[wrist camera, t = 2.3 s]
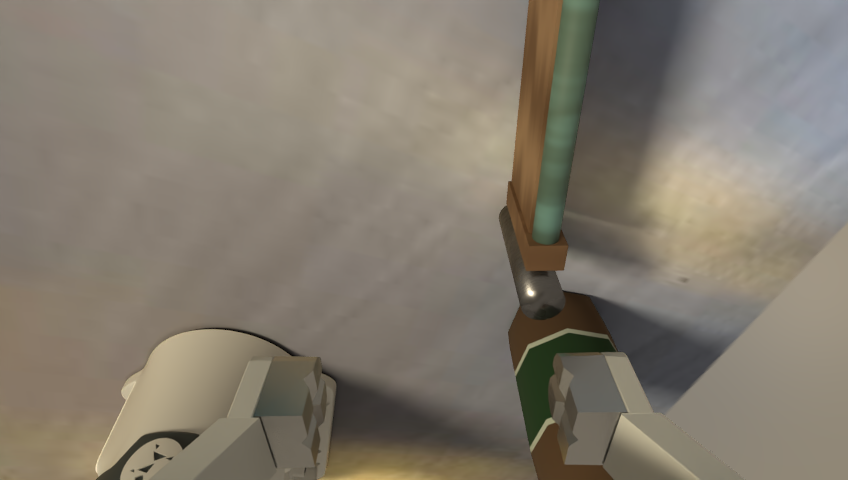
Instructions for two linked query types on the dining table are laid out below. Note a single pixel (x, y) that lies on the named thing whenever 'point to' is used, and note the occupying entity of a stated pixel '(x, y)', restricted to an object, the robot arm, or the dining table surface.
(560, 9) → the brown wooden panel
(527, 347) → the beer bottle
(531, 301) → the posts
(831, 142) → the dining table surface
